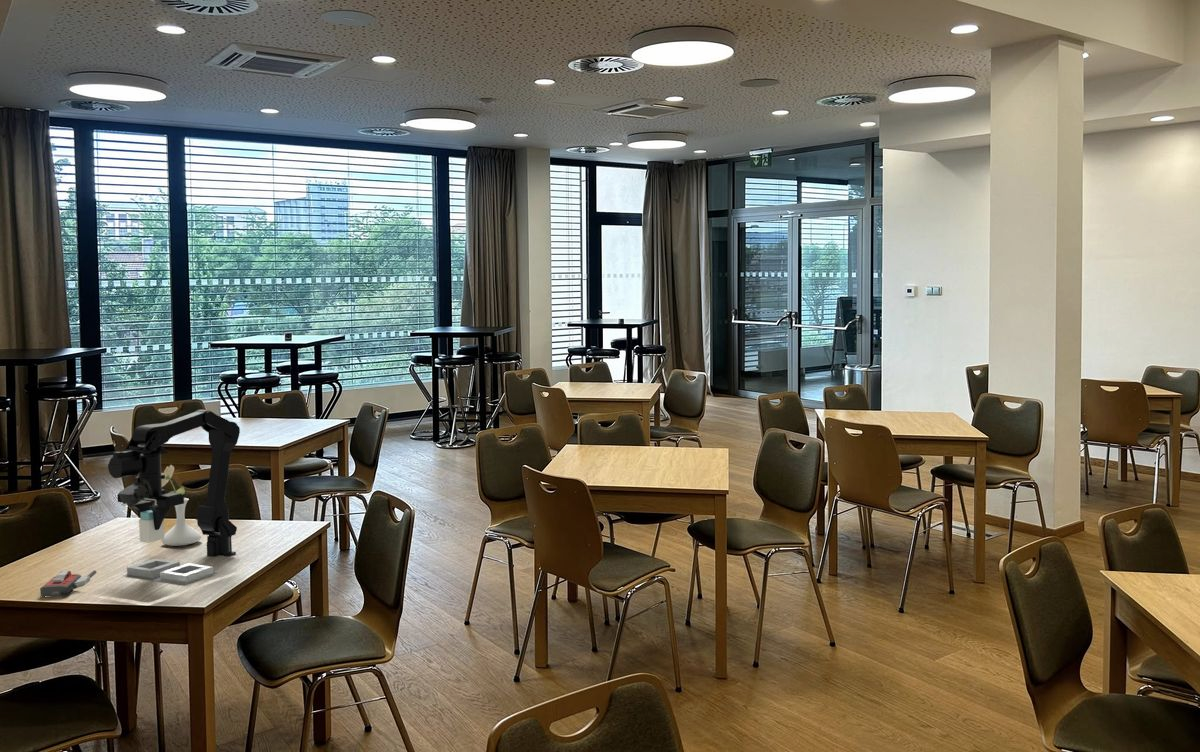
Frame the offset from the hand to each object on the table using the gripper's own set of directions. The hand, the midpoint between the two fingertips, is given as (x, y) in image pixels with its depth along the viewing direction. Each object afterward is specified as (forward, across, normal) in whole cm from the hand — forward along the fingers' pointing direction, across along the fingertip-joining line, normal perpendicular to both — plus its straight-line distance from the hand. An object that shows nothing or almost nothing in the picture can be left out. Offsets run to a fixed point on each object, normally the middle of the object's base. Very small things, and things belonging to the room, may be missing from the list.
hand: (151, 529), depth 265 cm
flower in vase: (+13, -19, +27) cm, 35 cm away
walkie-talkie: (+13, -12, -16) cm, 24 cm away
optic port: (+13, +12, 0) cm, 17 cm away
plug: (+3, 0, 0) cm, 3 cm away
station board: (+13, +6, 0) cm, 14 cm away
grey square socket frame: (+13, 0, 0) cm, 13 cm away
